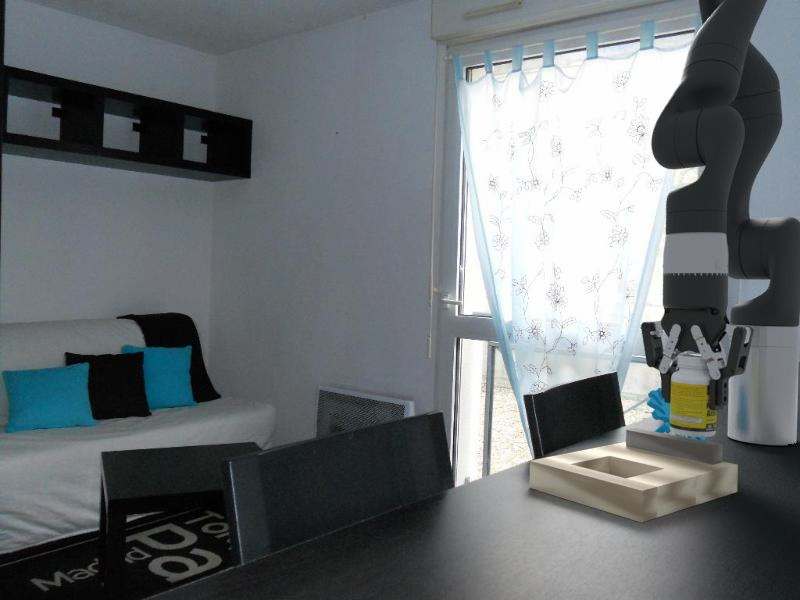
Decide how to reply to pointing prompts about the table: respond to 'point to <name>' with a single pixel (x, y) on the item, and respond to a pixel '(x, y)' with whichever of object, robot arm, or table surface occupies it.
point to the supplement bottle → (691, 398)
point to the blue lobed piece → (663, 413)
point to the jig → (639, 475)
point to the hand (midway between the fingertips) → (693, 405)
